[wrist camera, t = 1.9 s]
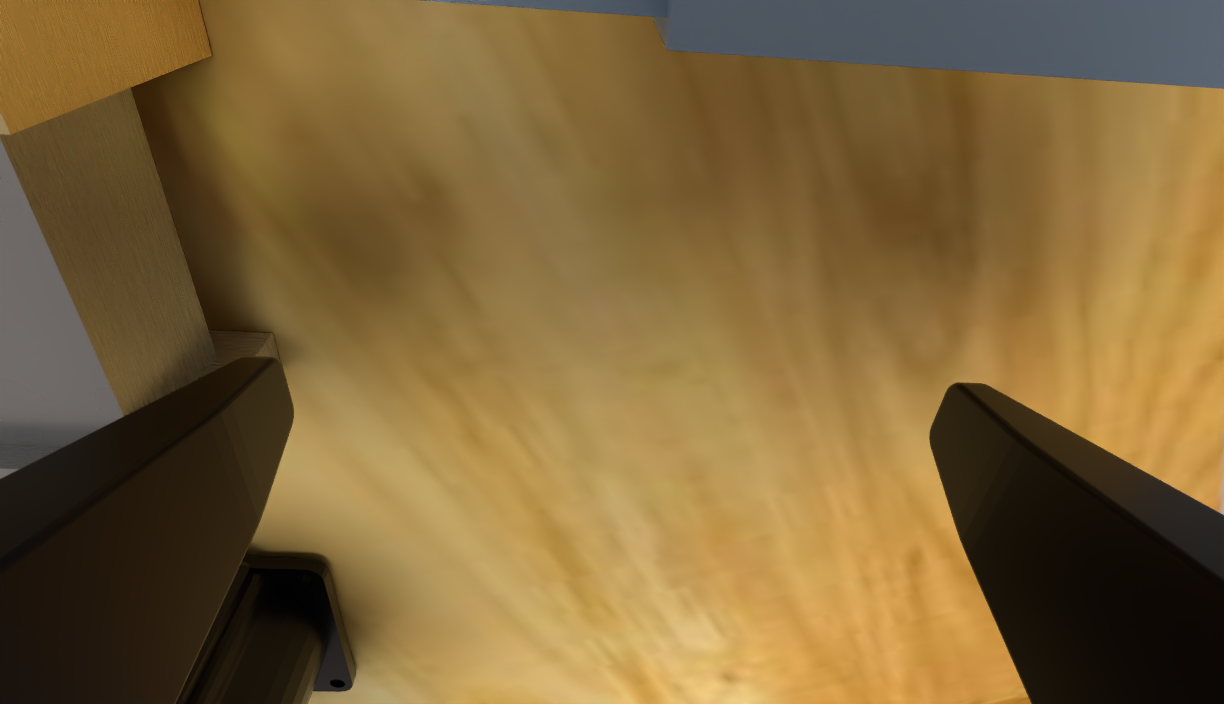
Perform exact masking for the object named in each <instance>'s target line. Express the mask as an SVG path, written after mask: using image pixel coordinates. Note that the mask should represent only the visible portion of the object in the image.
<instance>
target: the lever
mask: <svg viewBox="0 0 1224 704" xmlns="http://www.w3.org/2000/svg"><path fill="white" fill-rule="evenodd" d="M423 1H437V2H451V3H465V4H479V5H493V6H507V7H521V8H535V9H549V10H564V11H578V12H592V13H606V14H620V15H634V16H648V17H654V23H655V25H656V27H657V30H658V32H659V34H660V36H661V38H662V40H663V42H664V44H665V47H666V49H667V50H670V51H685V52H699V53H714V54H728V55H743V56H757V57H772V58H786V59H801V60H815V61H830V62H844V63H859V64H873V65H888V66H902V67H917V68H932V69H946V70H961V71H975V72H990V73H1004V74H1019V75H1033V76H1048V77H1062V78H1077V79H1091V80H1106V81H1120V82H1135V83H1149V84H1164V85H1179V86H1193V87H1208V88H1222V89H1224V0H423Z"/></svg>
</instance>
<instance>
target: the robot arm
mask: <svg viewBox="0 0 1224 704" xmlns="http://www.w3.org/2000/svg"><path fill="white" fill-rule="evenodd" d="M293 418H294V408H293V403H292V399H291V396H290V392H289V388H288V384H287V381H286V377H285V373H284V369H283V366H282V364H281V362H280V361H279V360H278V359H276V358H275V357H268V356H243V357H240V358H238V359H236V360H234V361H232V362H230V363H228V364H226V365H225V366H223V367H221V368H219V369H217V370H215V371H213V372H211V373H209V374H207V375H205V376H203V377H201V378H199V379H197V380H195V381H193V382H191V383H189V384H187V385H185V386H183V387H181V388H179V389H177V390H175V391H173V392H171V393H169V394H167V395H165V396H163V397H161V398H159V399H157V400H155V401H153V402H151V403H149V404H147V405H145V406H143V407H141V408H139V409H137V410H135V411H133V412H131V413H129V414H127V415H125V416H123V417H121V418H119V419H117V420H116V421H114V422H112V423H110V424H108V425H106V426H104V427H102V428H100V429H98V430H96V431H94V432H92V433H90V434H88V435H86V436H84V437H82V438H80V439H78V440H76V441H74V442H72V443H70V444H68V445H66V446H64V447H62V448H60V449H58V450H56V451H54V452H52V453H50V454H48V455H46V456H44V457H42V458H40V459H38V460H36V461H34V462H32V463H30V464H28V465H26V466H24V467H22V468H20V469H18V470H16V471H14V472H12V473H10V474H8V475H7V476H5V477H3V478H1V479H0V704H308V702H309V700H310V697H311V694H312V691H335V692H341V691H347V690H350V689H351V688H352V686H353V683H354V680H355V676H356V671H355V667H354V663H353V659H352V656H351V652H350V648H349V644H348V641H347V637H346V633H345V629H344V626H343V622H342V618H341V614H340V610H339V607H338V603H337V599H336V595H335V592H334V588H333V584H332V580H331V577H330V573H329V569H328V568H327V566H326V565H325V564H324V563H322V562H321V561H318V560H316V559H310V558H284V557H249V556H245V554H246V551H247V549H248V547H249V545H250V543H251V541H252V539H253V536H254V534H255V532H256V529H257V527H258V525H259V522H260V520H261V517H262V514H263V511H264V509H265V506H266V503H267V500H268V497H269V494H270V491H271V488H272V485H273V482H274V479H275V476H276V473H277V470H278V466H279V463H280V460H281V457H282V454H283V451H284V448H285V445H286V442H287V439H288V436H289V433H290V430H291V427H292V424H293ZM929 439H930V446H931V450H932V453H933V456H934V459H935V462H936V466H937V469H938V472H939V475H940V478H941V482H942V485H943V488H944V491H945V494H946V498H947V501H948V504H949V507H950V510H951V514H952V517H953V520H954V523H955V526H956V529H957V532H958V535H959V538H960V541H961V543H962V546H963V548H964V551H965V553H966V555H967V558H968V560H969V562H970V565H971V567H972V569H973V572H974V574H975V576H976V578H977V581H978V583H979V585H980V588H981V590H982V592H983V594H984V597H985V599H986V601H987V604H988V606H989V608H990V610H991V613H992V615H993V617H994V619H995V622H996V624H997V626H998V629H999V631H1000V633H1001V635H1002V638H1003V640H1004V642H1005V645H1006V647H1007V649H1008V651H1009V654H1010V656H1011V658H1012V661H1013V663H1014V665H1015V667H1016V670H1017V672H1018V674H1019V676H1020V679H1021V681H1022V683H1023V686H1024V688H1025V690H1026V692H1027V695H1028V697H1029V699H1030V702H1031V704H1224V515H1222V514H1221V513H1219V512H1217V511H1215V510H1213V509H1212V508H1210V507H1208V506H1206V505H1204V504H1202V503H1201V502H1199V501H1197V500H1195V499H1193V498H1192V497H1190V496H1188V495H1186V494H1184V493H1182V492H1181V491H1179V490H1177V489H1175V488H1173V487H1172V486H1170V485H1168V484H1166V483H1164V482H1162V481H1161V480H1159V479H1157V478H1155V477H1153V476H1152V475H1150V474H1148V473H1146V472H1144V471H1143V470H1141V469H1139V468H1137V467H1135V466H1133V465H1132V464H1130V463H1128V462H1126V461H1124V460H1123V459H1121V458H1119V457H1117V456H1115V455H1113V454H1112V453H1110V452H1108V451H1106V450H1104V449H1103V448H1101V447H1099V446H1097V445H1095V444H1093V443H1092V442H1090V441H1088V440H1086V439H1084V438H1083V437H1081V436H1079V435H1077V434H1075V433H1073V432H1072V431H1070V430H1068V429H1066V428H1064V427H1063V426H1061V425H1059V424H1057V423H1055V422H1053V421H1052V420H1050V419H1048V418H1046V417H1044V416H1043V415H1041V414H1039V413H1037V412H1035V411H1033V410H1032V409H1030V408H1028V407H1026V406H1024V405H1023V404H1021V403H1019V402H1017V401H1015V400H1013V399H1012V398H1010V397H1008V396H1006V395H1004V394H1003V393H1001V392H999V391H997V390H995V389H994V388H992V387H990V386H988V385H986V384H982V383H955V384H952V385H951V386H950V387H949V388H948V389H947V391H946V393H945V395H944V398H943V400H942V402H941V405H940V407H939V409H938V412H937V414H936V417H935V419H934V421H933V424H932V426H931V429H930V437H929Z"/></svg>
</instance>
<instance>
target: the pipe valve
mask: <svg viewBox="0 0 1224 704" xmlns="http://www.w3.org/2000/svg"><path fill="white" fill-rule="evenodd" d="M209 56H212V54H211V50H210V46H209V42H208V38H207V34H206V30H205V26H204V22H203V18H202V14H201V10H200V6H199V2H198V0H0V479H1V478H3V477H5V476H7V475H8V474H10V473H12V472H14V471H16V470H18V469H20V468H22V467H24V466H26V465H28V464H30V463H32V462H34V461H36V460H38V459H40V458H42V457H44V456H46V455H48V454H50V453H52V452H54V451H56V450H58V449H60V448H62V447H64V446H66V445H68V444H70V443H72V442H74V441H76V440H78V439H80V438H82V437H84V436H86V435H88V434H90V433H92V432H94V431H96V430H98V429H100V428H102V427H104V426H106V425H108V424H110V423H112V422H114V421H116V420H117V419H119V418H121V417H123V416H125V415H127V414H129V413H131V412H133V411H135V410H137V409H139V408H141V407H143V406H145V405H147V404H149V403H151V402H153V401H155V400H157V399H159V398H161V397H163V396H165V395H167V394H169V393H171V392H173V391H175V390H177V389H179V388H181V387H183V386H185V385H187V384H189V383H191V382H193V381H195V380H197V379H199V378H201V377H203V376H205V375H207V374H209V373H211V372H213V371H215V370H217V369H219V368H221V367H223V366H225V365H226V364H228V363H230V362H232V361H234V360H236V359H238V358H240V357H243V356H268V357H275V358H276V359H278V360H279V361H280V359H279V355H278V352H277V348H276V344H275V340H274V336H273V333H258V332H236V331H214V330H208V327H207V324H206V321H205V318H204V315H203V312H202V308H201V305H200V302H199V299H198V296H197V293H196V290H195V287H194V284H193V280H192V277H191V274H190V271H189V268H188V265H187V262H186V259H185V256H184V253H183V249H182V246H181V243H180V240H179V237H178V234H177V231H176V228H175V225H174V221H173V218H172V215H171V212H170V209H169V206H168V203H167V200H166V197H165V193H164V190H163V187H162V184H161V181H160V178H159V175H158V172H157V169H156V166H155V162H154V159H153V156H152V153H151V150H150V147H149V144H148V141H147V138H146V134H145V131H144V128H143V125H142V122H141V119H140V116H139V113H138V110H137V107H136V103H135V100H134V97H133V94H132V91H131V87H133V86H136V85H138V84H141V83H143V82H146V81H148V80H151V79H153V78H156V77H158V76H161V75H164V74H166V73H169V72H171V71H174V70H176V69H179V68H181V67H184V66H186V65H189V64H191V63H194V62H196V61H199V60H202V59H204V58H207V57H209Z"/></svg>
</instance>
